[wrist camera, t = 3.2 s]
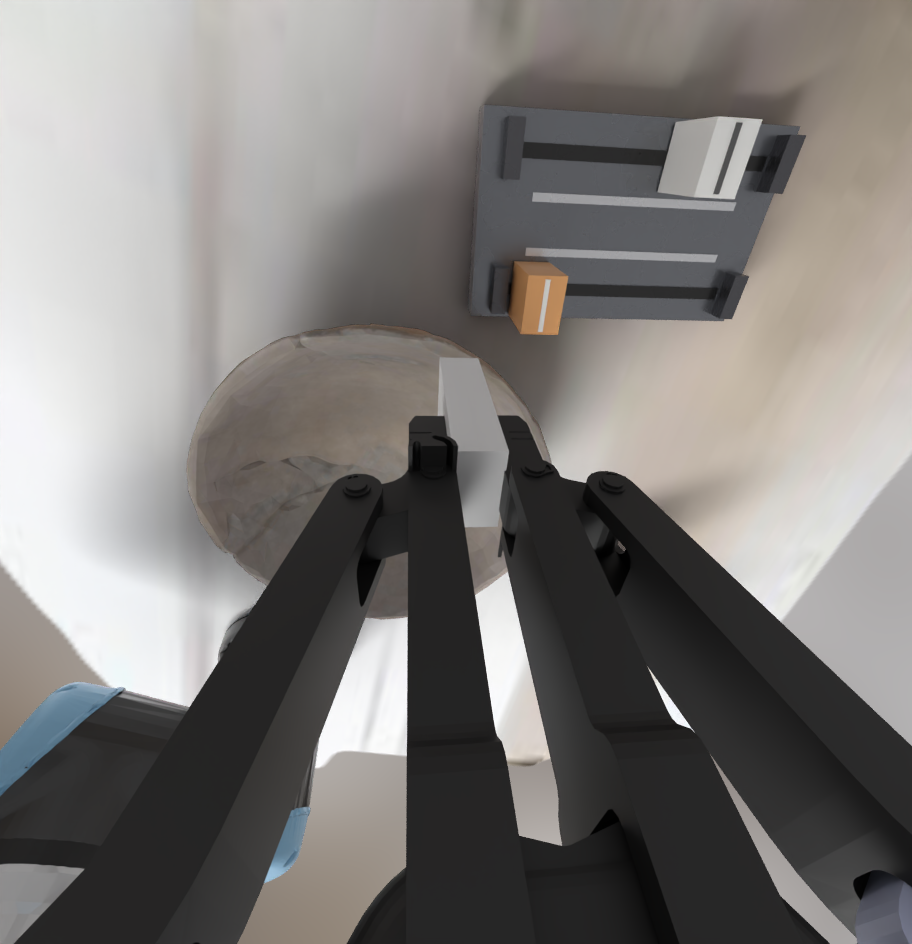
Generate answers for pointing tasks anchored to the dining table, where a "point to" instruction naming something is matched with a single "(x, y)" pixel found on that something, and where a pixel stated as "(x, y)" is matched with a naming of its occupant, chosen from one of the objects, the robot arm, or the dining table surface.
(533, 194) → the panel
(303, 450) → the bowl
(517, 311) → the orange fader
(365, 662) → the dining table surface
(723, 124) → the white fader
